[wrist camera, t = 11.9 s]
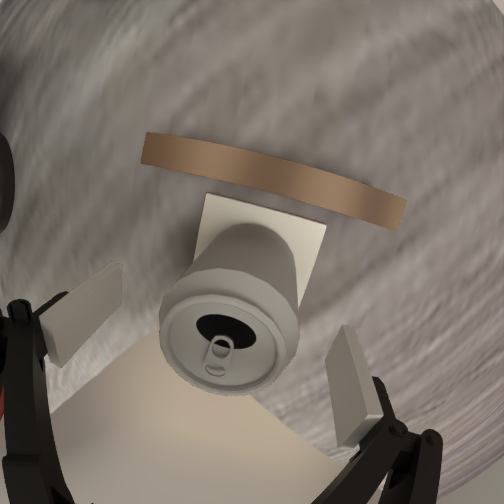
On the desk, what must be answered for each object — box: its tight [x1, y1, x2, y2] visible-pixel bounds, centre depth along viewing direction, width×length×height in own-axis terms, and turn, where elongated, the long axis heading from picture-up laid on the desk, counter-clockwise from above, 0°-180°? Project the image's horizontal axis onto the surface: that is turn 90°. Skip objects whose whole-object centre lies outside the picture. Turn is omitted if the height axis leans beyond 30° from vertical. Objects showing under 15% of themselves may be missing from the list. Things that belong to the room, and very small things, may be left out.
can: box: [159, 224, 300, 396], centre depth 18 cm, size 8×8×12 cm
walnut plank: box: [141, 132, 407, 232], centre depth 18 cm, size 16×2×7 cm, turn 76°
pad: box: [193, 192, 327, 308], centre depth 24 cm, size 10×10×1 cm
